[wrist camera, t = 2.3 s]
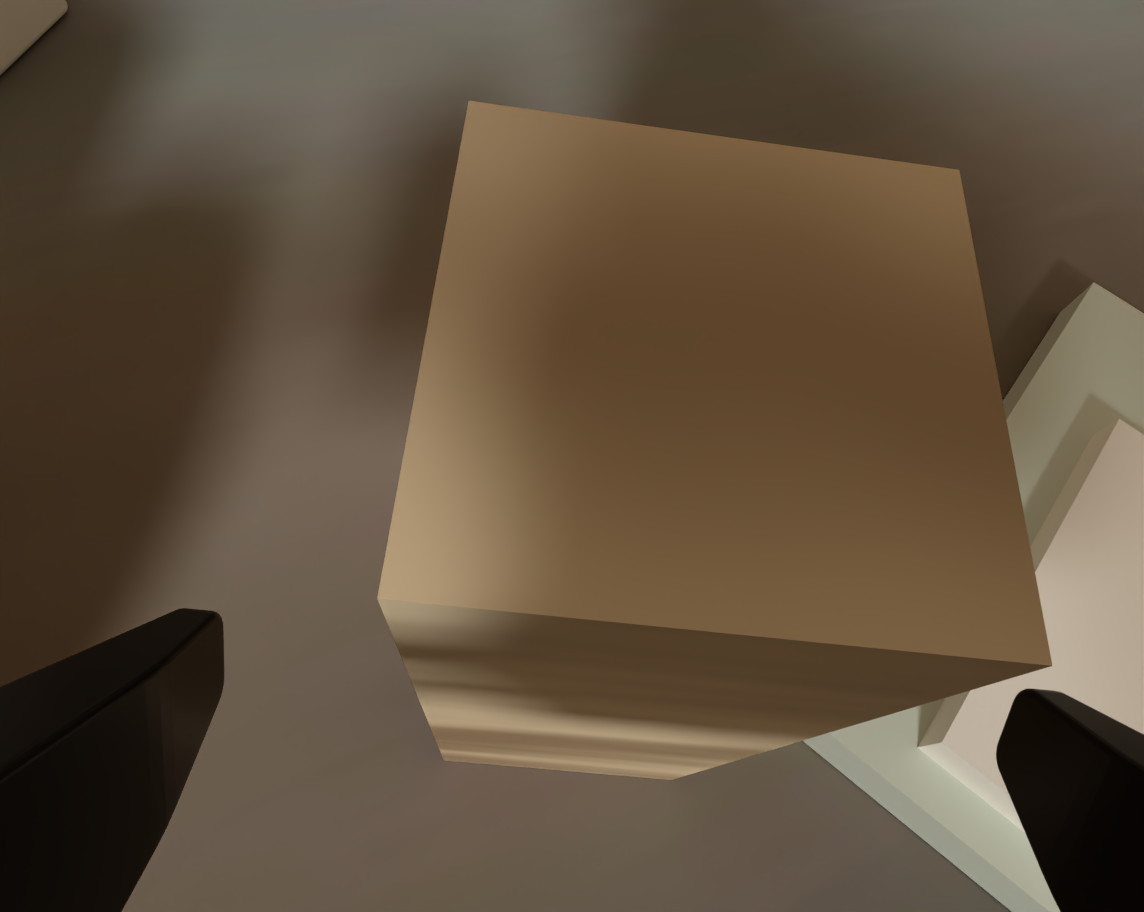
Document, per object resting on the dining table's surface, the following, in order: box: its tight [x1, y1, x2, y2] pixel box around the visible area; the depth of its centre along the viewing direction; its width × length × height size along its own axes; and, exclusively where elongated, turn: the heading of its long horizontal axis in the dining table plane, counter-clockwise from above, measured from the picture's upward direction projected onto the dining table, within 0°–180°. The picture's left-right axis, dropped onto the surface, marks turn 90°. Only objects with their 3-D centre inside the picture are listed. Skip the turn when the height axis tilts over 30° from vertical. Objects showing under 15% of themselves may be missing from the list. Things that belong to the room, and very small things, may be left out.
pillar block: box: [377, 101, 1052, 780], centre depth 13 cm, size 5×5×13 cm
